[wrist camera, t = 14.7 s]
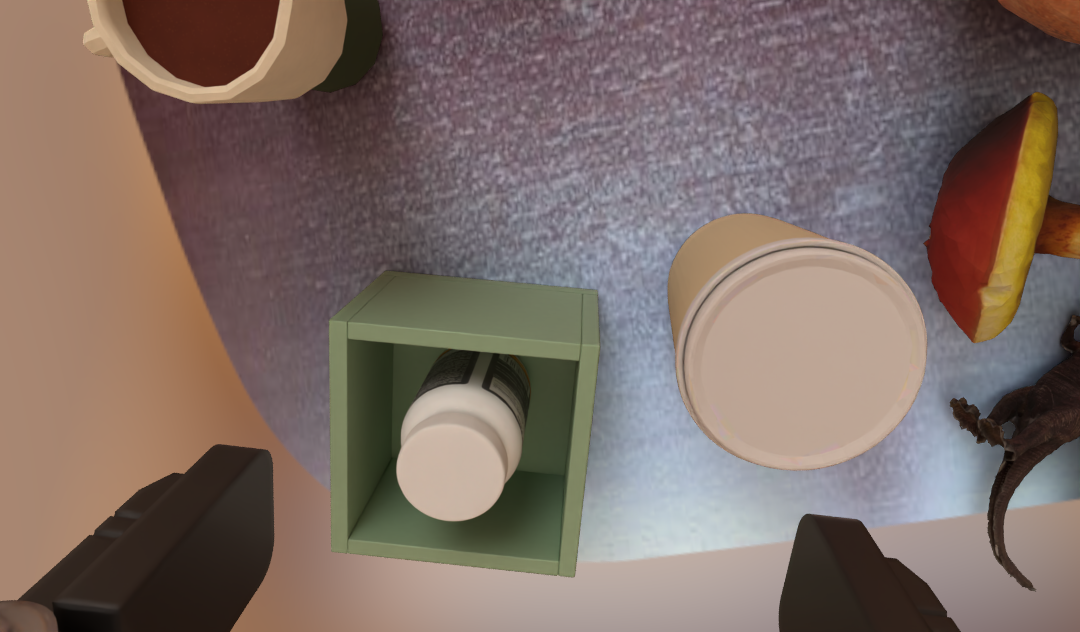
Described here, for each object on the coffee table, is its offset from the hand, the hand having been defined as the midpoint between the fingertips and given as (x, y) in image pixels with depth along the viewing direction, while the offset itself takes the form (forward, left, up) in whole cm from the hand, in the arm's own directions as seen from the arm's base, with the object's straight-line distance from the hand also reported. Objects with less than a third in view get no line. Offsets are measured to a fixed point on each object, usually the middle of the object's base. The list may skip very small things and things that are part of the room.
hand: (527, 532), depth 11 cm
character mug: (-13, +8, -28) cm, 32 cm away
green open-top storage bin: (-4, -10, -28) cm, 30 cm away
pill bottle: (-4, -9, -27) cm, 29 cm away
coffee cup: (+9, -3, -28) cm, 30 cm away
